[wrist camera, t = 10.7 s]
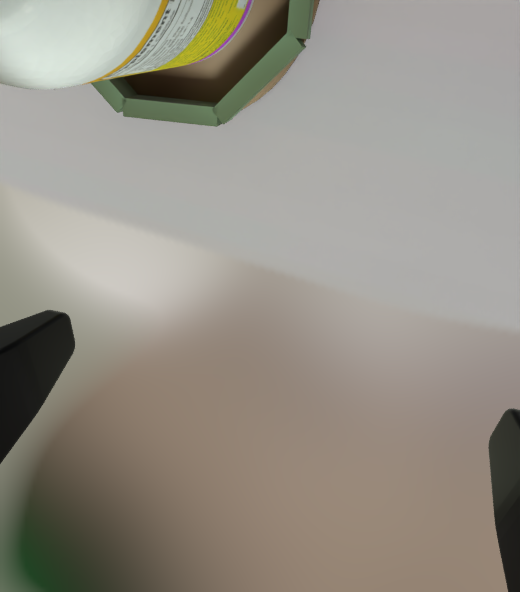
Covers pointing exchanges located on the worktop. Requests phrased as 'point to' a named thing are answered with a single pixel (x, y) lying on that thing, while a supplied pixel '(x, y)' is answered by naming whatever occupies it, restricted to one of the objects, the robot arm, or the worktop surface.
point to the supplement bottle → (109, 38)
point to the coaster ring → (220, 70)
